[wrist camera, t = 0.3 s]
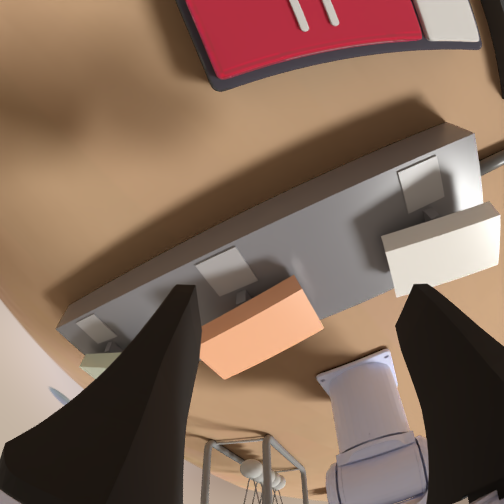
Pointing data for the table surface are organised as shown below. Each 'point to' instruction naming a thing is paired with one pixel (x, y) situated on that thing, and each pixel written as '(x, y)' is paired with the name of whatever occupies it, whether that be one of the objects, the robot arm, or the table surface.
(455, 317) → the robot arm
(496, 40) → the computer keyboard
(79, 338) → the power strip
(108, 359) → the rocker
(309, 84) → the table surface
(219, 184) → the table surface
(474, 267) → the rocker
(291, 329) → the rocker middle
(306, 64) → the calculator
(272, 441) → the newton's cradle
